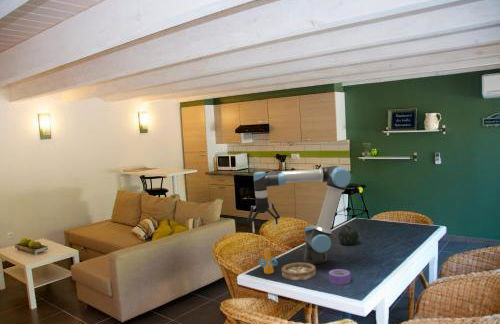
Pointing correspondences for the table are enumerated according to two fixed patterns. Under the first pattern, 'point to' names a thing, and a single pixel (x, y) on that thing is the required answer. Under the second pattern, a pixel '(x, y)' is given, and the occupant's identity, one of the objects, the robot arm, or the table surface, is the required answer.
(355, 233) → the squash
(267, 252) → the orange upright piece
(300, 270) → the round brown basket
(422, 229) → the table surface
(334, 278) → the tape roll
